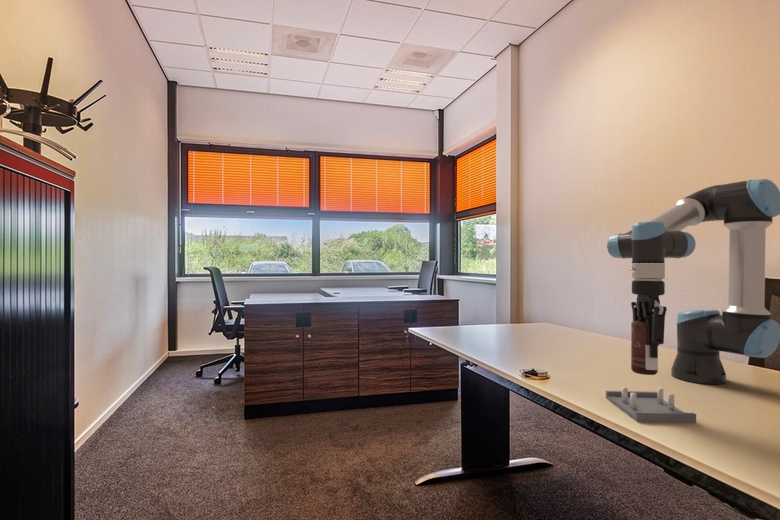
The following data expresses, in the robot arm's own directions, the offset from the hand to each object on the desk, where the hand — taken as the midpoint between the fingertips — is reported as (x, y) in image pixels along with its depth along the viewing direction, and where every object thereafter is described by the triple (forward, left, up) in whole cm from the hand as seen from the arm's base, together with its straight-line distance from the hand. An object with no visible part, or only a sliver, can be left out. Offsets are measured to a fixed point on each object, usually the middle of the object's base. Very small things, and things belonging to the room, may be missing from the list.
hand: (647, 367), depth 113 cm
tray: (0, -1, -11) cm, 11 cm away
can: (0, -1, -2) cm, 2 cm away
